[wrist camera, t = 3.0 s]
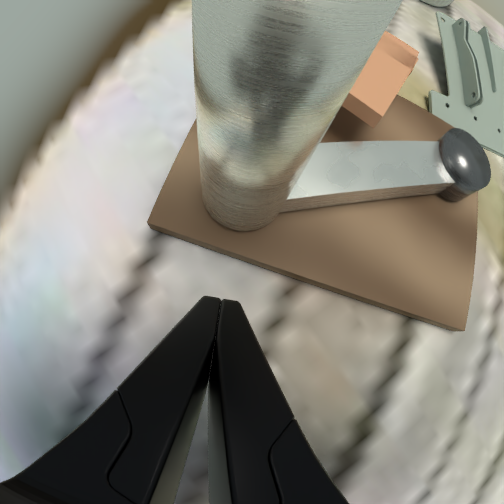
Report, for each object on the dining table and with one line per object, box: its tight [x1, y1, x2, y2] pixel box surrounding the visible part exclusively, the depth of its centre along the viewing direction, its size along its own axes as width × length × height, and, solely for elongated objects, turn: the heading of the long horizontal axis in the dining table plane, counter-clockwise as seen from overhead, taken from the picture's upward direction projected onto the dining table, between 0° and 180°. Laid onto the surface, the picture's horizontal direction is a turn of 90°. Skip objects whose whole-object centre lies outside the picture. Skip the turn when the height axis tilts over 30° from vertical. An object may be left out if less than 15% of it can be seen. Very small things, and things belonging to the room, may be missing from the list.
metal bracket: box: [429, 12, 504, 158], centre depth 19 cm, size 14×6×15 cm
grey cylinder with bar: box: [192, 0, 491, 231], centre depth 9 cm, size 16×4×11 cm, turn 101°
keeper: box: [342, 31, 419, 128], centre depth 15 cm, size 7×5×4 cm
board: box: [147, 95, 478, 331], centre depth 16 cm, size 13×17×1 cm
